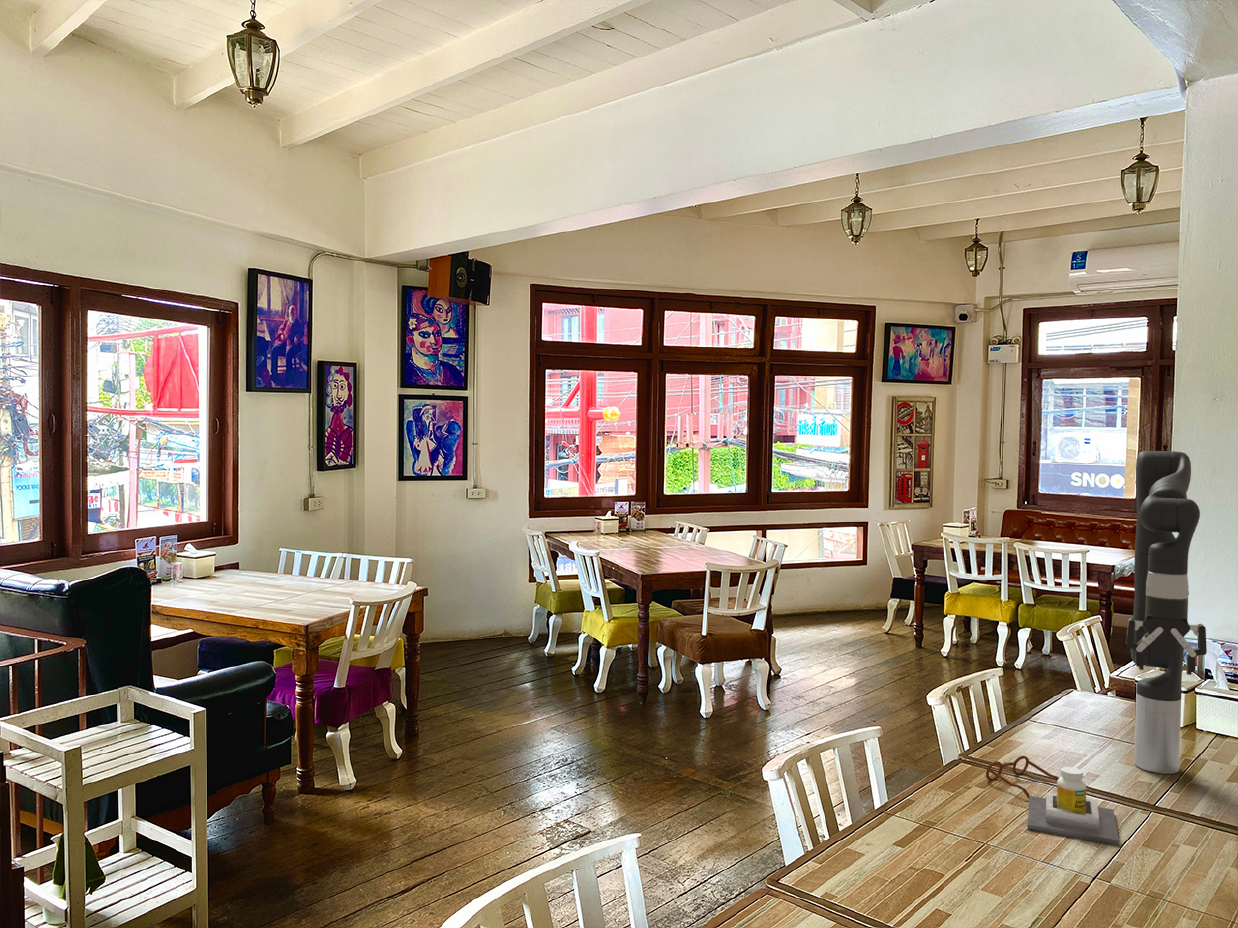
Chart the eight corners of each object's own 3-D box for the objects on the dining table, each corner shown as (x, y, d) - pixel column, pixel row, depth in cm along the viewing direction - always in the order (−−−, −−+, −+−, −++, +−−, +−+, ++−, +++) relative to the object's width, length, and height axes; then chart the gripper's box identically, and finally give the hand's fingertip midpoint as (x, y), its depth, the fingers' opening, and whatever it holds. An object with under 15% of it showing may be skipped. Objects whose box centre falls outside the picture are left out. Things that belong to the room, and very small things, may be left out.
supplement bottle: (1065, 808, 188) (1066, 763, 188) (1091, 818, 184) (1092, 771, 183) (1051, 814, 185) (1052, 768, 185) (1076, 824, 181) (1077, 777, 180)
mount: (1029, 799, 195) (1029, 783, 195) (1113, 813, 188) (1113, 797, 188) (1027, 829, 180) (1028, 811, 180) (1118, 845, 174) (1119, 827, 173)
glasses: (1025, 773, 211) (1025, 752, 211) (1074, 794, 199) (1075, 772, 199) (984, 782, 205) (984, 761, 205) (1032, 804, 194) (1032, 781, 193)
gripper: (1204, 594, 187) (1202, 671, 188) (1126, 588, 193) (1124, 663, 194) (1210, 600, 181) (1207, 680, 181) (1128, 594, 187) (1126, 671, 187)
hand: (1164, 671), depth 188 cm, fingers open, 8 cm apart
